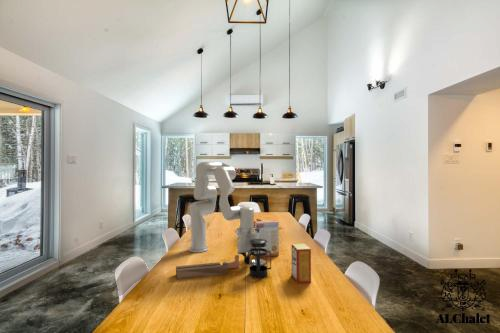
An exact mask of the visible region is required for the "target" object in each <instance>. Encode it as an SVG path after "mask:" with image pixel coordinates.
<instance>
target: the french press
mask: <svg viewBox="0 0 500 333" xmlns="http://www.w3.org/2000/svg"><path fill="white" fill-rule="evenodd" d="M255 230H256V231H257V233H258V239H252V240H250V241H249V242H250V243H251V245H252V247H255V248H253V249H250V250H249V265H248V267H249V270H248V271H249V272H248V276H249V277H251V278H252V279H264V278H266V277H268V275H269V274H268V270H272V256H271V251H267V250H266V249H263V248H262V247H265V246H266V243H267V240H265V239H259V231H261V230H262V229H260V228H256V229H255V228H254V231H255ZM252 251H257V253H252ZM260 251H264V252H265V253H260ZM267 252H270V256H269V263H270V264H269V267H268V266H267V264H268V260H265V259H262V258H261V257H260V256H265V255H267ZM250 255H251V257H252V256H253V257H256V258H255V259H251V257H250Z"/></svg>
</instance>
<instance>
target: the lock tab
mask: <svg viewBox="0 0 500 333" xmlns="http://www.w3.org/2000/svg"><path fill="white" fill-rule="evenodd" d="M226 262H227V263H228V269H237V268H240V254H234V260H230V261H226Z"/></svg>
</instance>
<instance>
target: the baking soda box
mask: <svg viewBox="0 0 500 333" xmlns="http://www.w3.org/2000/svg"><path fill="white" fill-rule="evenodd" d="M311 254H312V249H311V248H310V247H309V246H308V245H307V244H306V243H303V242H302V243H291V276H292V278H293V279H294V281H295V283H296V284H311V283H312V255H311Z"/></svg>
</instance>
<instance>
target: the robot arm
mask: <svg viewBox="0 0 500 333" xmlns="http://www.w3.org/2000/svg"><path fill="white" fill-rule="evenodd" d="M209 176H214V179H215V181H216V184H217V186H218V188H219V191H220V195H219V201H218V205H219V209H220V212H221V215H222V216H223V218H224V220H226V221H228V222H231V221H234V220H235V221H236V220H239V228H237V229H236V230H237V232H238V235H237V236H238V237H237V246H236V247H237V251H236V252H237V255H242V257H243V261H244V264H245V265H247V266H249V250H250V249H253V248H255V247H252V245H251V243H250V242H249V241H250V240H252V239H256V233H255V230H254V229H255V218H254V216H255V215H254V214H255V212H254V211H255V210H254V208H253V207H251V206H249V207H248V206H245V205H241V204H240V205H239V204H238V205H234V206H233V205H232V206H230V203H229V200H228V199H229V198H228V197H229V195H230V194H232V193H233V192H234V191H235V190H236V189H235V185H234V183H233V180H235V179H236V176H237V172H236V169H235V168H234V166H232V165H229V164H226V163H224V162H220V161H201V162H199V163H198V164H197V165H196V167H195V183H194V189H193V197H194V200H197V201H194V202H192V203H190V205H189V208H188V210H189V215H190V247H189V248H188V251H189V252H191V253H204V252H206V251H208V250H209V246H208V245H206V244H207V243H206V242H207V238H206V237H207V234H206V233H207V228H206V227H207V226H206V225H207V223H206V219H205V218H204V217H203V216H207V215H209V216H210V215H212V214H213V213H214V212H215V209H216V203H217V197H218V190H217V188H216V187H215V186H214V185H213V184H209V183H210V180H209ZM256 252H257V251H252V253H256ZM251 257H252V255H250V258H251Z"/></svg>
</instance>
